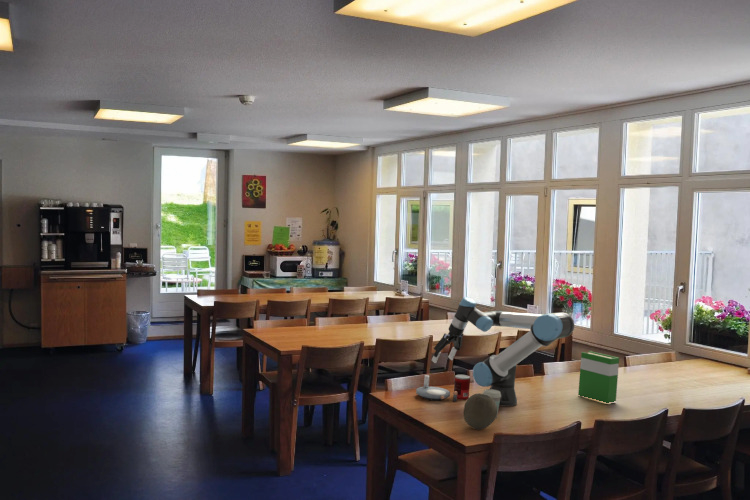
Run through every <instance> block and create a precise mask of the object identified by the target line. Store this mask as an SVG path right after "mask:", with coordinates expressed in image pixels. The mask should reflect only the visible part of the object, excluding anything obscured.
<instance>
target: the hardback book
mask: <svg viewBox="0 0 750 500" xmlns="http://www.w3.org/2000/svg"><path fill="white" fill-rule="evenodd" d="M619 364H620V357H617V356H613V355H610V354H604V353H600V352H599V353H598V352H597V351H596V352H594V351H592V350H588V352H584V351H581V355H580V366H579V367H580V369H579V380H578V382H579V383H578V392H577V393H578V395H580V396H584V397H588V398H592V399H596V400H599V401H603V402H606V403H609V402H614V401H617V391H618V389H617V388H618V381H619V380H618V379H619V377H618V376H619ZM578 395H577V396H578Z"/></svg>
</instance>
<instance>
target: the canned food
mask: <svg viewBox="0 0 750 500" xmlns="http://www.w3.org/2000/svg"><path fill="white" fill-rule="evenodd" d="M470 384H471V376H469V375H466V374H456V375H455V376H454V384H453V385H454V386H453V392H454V391H457V392H458V394H457V400H463V401H464V400H465V401H467V400H468V398H469V397H470Z"/></svg>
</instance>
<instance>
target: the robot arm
mask: <svg viewBox="0 0 750 500" xmlns="http://www.w3.org/2000/svg"><path fill="white" fill-rule="evenodd" d="M468 323H471V324H472V325H473V326H474V327H476V328H477V329H478V330H479V331H481V332H484V333H485V332H488V331H489V330H491V328H492V327H502V328H503V327H504V328H505V327H506V328H515V329H523V330H524V329H525V330H526V329H527V330H528V331H527V333H525V334H524V335H522V336H521V337H519V338H518V339H517V340H516V341H514V342H513V343H511V345H509V346H507V347H506V348H505V349H504V350H502V351H501V352H500V353H498V354H492V355H490V356H489V357H488V358H486V359H485V360H484V361H480V362H478V363H476V364H475V365H474V366H473V368H472V376H473V380H474V382H475V384H477V385H478V386H479V387H488V388H489V389H493V390H498V391H500V393H501V397H500V403H499V407H500V406H501V407H513V406H516V405H517V404H518V398H517V394H516V390H515V387H516V386H515V383H516V374H517V373H516V370H517V364H519V363H520V362H521V361H523V360H524V359H526V358H527V357H528V356H530V355H532V354H533V353H534V352H535V351H537V350H538V349H540V348H541V347H548V346H550V345H551V344H552V343H554V342H556V341H557V340H558V339H563V338H567V337H570V335H571V334H572V333H573V332H574V330H575V321H574V319H573V317H572V316H571V315H570V314H568V313H566V312H561V311H560V312H549V313H544V314H542V313H541V314H538V313H529V312H513V311H502V310H492V311H484V312H483V311H482V310H479V309H478V308H477V302H476V300H474V299H473V298H471V297H468V296H464V297H462V298H461V300H460V302H459V304H458V307H457V309H456V312H455V314H454V315H453V318H452V320H451V322H450V324H449V327H448V333H444V334H443V336H442V337H441V338H440V340H439V341H437V342H438V343H436V344H435V345H434V347H433V350H434V354H433V356H432V358H431V362H433V363H434V364H437V362H438V360H439V358H440V355H441V354H442V350H443V349H445V347H447V345H449V344H451V343H453V347H451V350H450V352H449V354H448V356H447V358H448V359H449V360H451V361H453V359H454V358H455V355H456V354H457V351H460V350H461V348H462V345H463V337H464V332H465V329H466V328H467V326H468Z"/></svg>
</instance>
